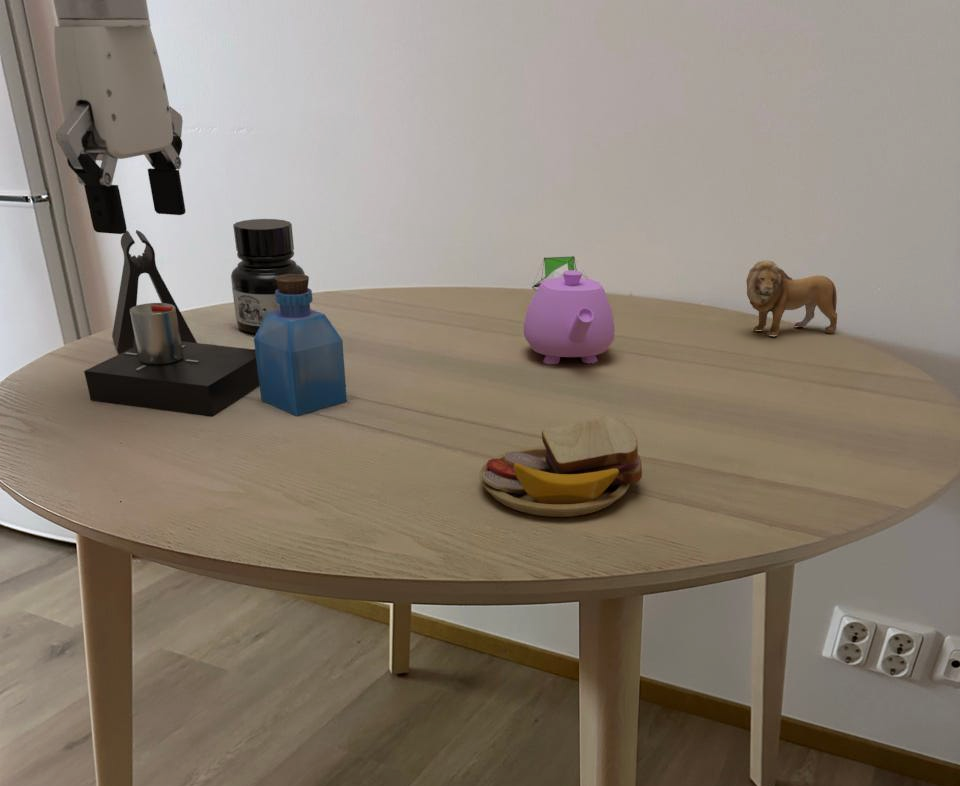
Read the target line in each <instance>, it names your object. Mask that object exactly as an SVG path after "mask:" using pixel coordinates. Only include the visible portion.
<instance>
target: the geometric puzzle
mask: <svg viewBox="0 0 960 786" xmlns="http://www.w3.org/2000/svg"><path fill="white" fill-rule="evenodd" d="M576 262H578V260H577V259H576V258H575V255H573V256H554V257H552V256H551V257H545V256H543V260H542V263H541V265H540V266H544V269H542V272H541V274H543V273H544V277H540V278H541V279H540V280H539V281H538V282H537V283H533V284H532V286H531V288H532V289H533V290H534V291H535V292H536V291H537V289H536V288H538V287H539V286H540V284H541V283H542V282H543V281H544V280H547V279H552V278H559V277H562V276H563V272H564V271H568V270H576V271H578V269H577V265H576ZM540 269H541V268H539V270H538V271H540ZM538 274H539V273H537V274H536V275H537V276H538ZM582 276H583V278H584V277H585V278H586V279H589V278H588V277H586V276H585V275H584V274H583V273H582ZM536 279H537V278H535V279H534V281H536Z"/></svg>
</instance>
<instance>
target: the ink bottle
mask: <svg viewBox="0 0 960 786" xmlns="http://www.w3.org/2000/svg"><path fill="white" fill-rule="evenodd" d="M232 226H233V233H234V242H235V250H236V252H237V253H236V257H237V258H238V259H239V260H241V261H239V262H238V263H237V266H236V267H235V268H234V269H233V270H232V272H231V274H230V282H231V290H232V291H231V292H232V297H233V304H234V314H235V319H236V324H237V327H238V329H240V330H241V331H243V332H246V333H249V334H250V333H251V334H255V335H256V333H257V331H258V329H259V327H260V325H261V323H262V321H263V319H264V317H265V315H266V313H270V312H274V311H279V310H280V304H278V303H277V302H276V295H275V291H276V290H277V289H278V285H277V282H276V279H275V278H276V277H277V276H280V275H285V274H303V275H306V273H305V271H304V269H303V268H302V267H301V266H300V265H299V264H297V262H296V261H295V260H293V259H292V258H293V257H294V256H295V251H294V250H295V246H294V235H293V226H292V222H290V221H288V220H284V219H279V218H278V219H276V218H253V219H246V220H244V219H243V220H241V221H236V222H234V223H233V224H232Z"/></svg>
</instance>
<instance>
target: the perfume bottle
mask: <svg viewBox="0 0 960 786" xmlns="http://www.w3.org/2000/svg"><path fill="white" fill-rule="evenodd" d="M275 279H276V282H277V285H278V289H277V290H276V291H275V295H276V302H277V303H278V304H280V310H279V311H274V312H270V313H266V315H265V317H264V319H263V321H262V323H261V325H260V327H259V329H258V331H257V333H256V334H255V336H254V338H253V345H254V350H255V353H256V361H257V369H258V377H259V385H260V386H259V392H260V393H259V394H260V400H261V401H262V402H265V403H267V404H269V405H271V406H274V407H276V408H278V409H280V410H282V411H284V412H287V413H288V414H292V415H293V416H295V417H298V416H301V415H304V414H308V413H311V412H315V411H319V410H322V409H325V408H328V407H332V406H335V405H339V404H342V403H345V402H346V403H347V401H348V399H347V383H346V371H345V370H346V368H345V357H344V356H345V355H344V342H343V338H342V337H341V336H340V334H339V333H338V331H337V330H336V328H335V327H334V325H333V324H332V323H331V320H330V319H329V318H328V316H327V315H326V313H323V312H320V311H316V310H314V309H311V303H312V302H313V291H312V289H311V288H309V281H310V276H308V275H307V274H305V275H303V274H285V275H280V276H277V277H276V278H275Z"/></svg>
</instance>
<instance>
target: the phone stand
mask: <svg viewBox="0 0 960 786" xmlns="http://www.w3.org/2000/svg"><path fill="white" fill-rule="evenodd" d="M135 234H136V235H137V237H138V239H139V240H140V241H141V243H143V244H145V246H144V250H143V252H142V254H141V255H140V254H138V255H137V256H136V255H135V254H133V256H132V254H131V253H130V249H131V248H132V246H133V245H134V244H136V242H135V239H134V238H133V236H132V235H131V233H130V231H129V230H127V231H126V233H123V234H121V235H122V236H121V237H120V248H121V249H122V254H123V265H122V266H123V267H122V272H121V279H120V284H119V291H118V297H117V303H116V309H115V315H114V322H113V329H112V335H111V337H112V341H113V343H114V346H115V349H116V352H117V353H118V355H119V354H121V353H123V352H125V351H127V350H129V349H131V348H133V347H136V340H135V335H134V330H133V325H132V320H131V315H130V309H131V308H132V307H134V306H137V305H138V304H137V303H138V293H139V292H138V289H139V278H140V276H141V275H143V274H147V275H148V276H149V278H150V280H151V283H152V285H153V287H154V290H155V292H156V294H157V297H158V299H159V301H160V303H167V304H171V305H174V306H175V309H176V315H177V321H178V327H179V333H180V339H181V341H183V342H192V343H198V342H197V340H196V338H195V336H194V334H193V333H192V330H191V328H190V327H189V326H188V325H189V324H188V323H187V321H186V320H185V318H184V316H183V314H182V312H181V310H180V308H179V307H178V305H177V303H176V301H175V300H174V297H173V295H172V294H171V292H170V290H169V289H168V287H167V285H166V283H165V281H164V279H163V277H162V276H161V274H160V272H159V269H158V267H157V263H156V252H155V249H154V247H153V245H152V244H151V243H150V241H149V240H148V238H147V237H146V235H145V234H144V233H142V232H141V231H140V230H138V229H136V230H135Z"/></svg>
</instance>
